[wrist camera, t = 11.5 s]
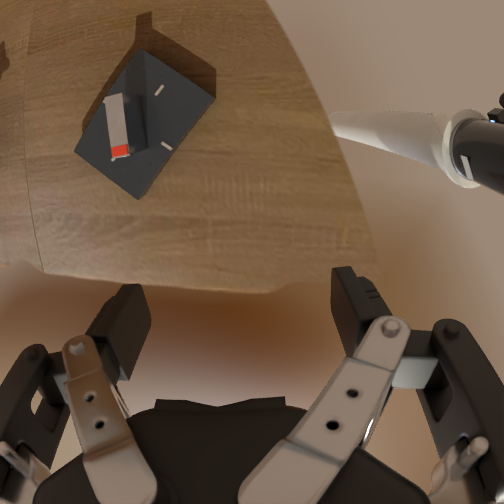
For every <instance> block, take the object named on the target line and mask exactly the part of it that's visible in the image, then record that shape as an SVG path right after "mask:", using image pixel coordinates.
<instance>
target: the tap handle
mask: <svg viewBox="0 0 504 504" xmlns="http://www.w3.org/2000/svg"><path fill="white" fill-rule="evenodd" d="M105 107H106V116H107V124H108V131H109V138H110V145H111V152H112V158H113V159H115V158H120V157H125V156H130V155H132V154H135V153H138V152H141V151H143V150H146V149H147V142H146V135H145V127H144V119H143V111H142V102H141V95H136V94H129V93H118V94H114V95H111V96H107V97H105Z"/></svg>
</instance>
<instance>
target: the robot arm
mask: <svg viewBox="0 0 504 504" xmlns="http://www.w3.org/2000/svg"><path fill="white" fill-rule="evenodd" d="M499 103H500V105H501V106H502V107H503V108H504V93H503V94H502V95H501V96H500V100H499ZM487 115H488V117H489V119H481V120H479V119H476V118H465V119H463V120H461V121H460V122H459V123H458V124H457V125H456V126H455V128H454V129H453V132H452V134H451V138H450V144H449V152H450V158H451V162H452V165H453V167H454V169H455V170H456V172H457V173H458V174H459V175H460V176H461V177H463V178H464V179H467V180H469V181H473V182H475V183H478V184H480V185H482V186H484V187H486V188H488V189H491V190H493V191H495V192H497V193H499V194H501V195H504V109H498V108H495V109H493V110H491V111H490V112H488V114H487ZM331 311H332V315H333V318H334V321H335V324H336V326H337V329H338V332H339V335H340V338H341V341H342V344H343V347H344V350H345V353H346V357H345V358H344V359H343V361H342V363H341V364H340V365H339V367H338V368H337V370H336V371H335V373H334V374H333V376H332V377H331V379H330V380H329V382H328V383H327V385H326V386H325V387H324V389H323V390H322V392H321V393H320V395H319V396H318V397H317V399H316V400H315V401H314V403H313V404H312V406H311V407H310V408H309V410H308V411H307V410H305V409H302V408H297V407H293V406H286V404H285V396H283V397H272V398H257V399H249V400H245V401H241V402H237V403H233V404H228V405H224V406H219V407H216V406H210V405H206V404H201V403H196V402H191V401H188V400H163V399H156V403H155V407H154V408H153V409H148V410H145V411H142V412H139V413H137V414H135V415H133V416H132V415H131V413H130V411H129V409H128V407H127V405H126V403H125V401H124V399H123V397H122V395H121V393H120V390H119V389H118V387H117V385H116V384H117V381H118V380H124V381H129V379H130V377H131V374H132V372H133V369H134V367H135V364H136V361H137V359H138V356H139V354H140V351H141V349H142V347H143V344H144V342H145V339H146V337H147V334H148V332H149V329H150V327H151V314H150V311H149V308H148V305H147V302H146V298H145V295H144V292H143V289H142V286H141V285H140V284H124V285H122V286H121V288H120V290H119V291H118V292H117V294H116V295H115V296H113V297H112V298H110V299H109V300H108V301H107V302H106V303H105V304H104V305H103V307H102V308H101V310H100V312H99V313H98V314H97V317H96V318H95V319H94V321H93V322H92V324H91V325H90V327H89V328H88V330H87V332H86V333H85V335H80V336H76V337H74V338H72V339H70V340H69V341H67V342H66V343H65V345H64V346H63V348H62V351H60V352H56V353H50V354H49V353H48V352H47V350H46V348H45V347H44V345H42V344H34V345H31V346H29V347H27V348H26V349H24V350H23V351H22V353H21V354H20V355H19V357H18V358H17V360H16V361H15V363H14V365H13V366H12V368H11V369H10V371H9V372H8V374H7V376H6V377H5V379H4V381H3V382H2V384H1V386H0V504H504V385H503V383H502V382H501V380H500V378H499V377H498V375H497V373H496V372H495V370H494V368H493V367H492V365H491V363H490V362H489V360H488V359H487V357H486V355H485V354H484V352H483V351H482V350H481V348H480V346H479V345H478V343H477V342H476V340H475V339H474V338H473V336H472V334H471V333H470V332H469V330H468V329H467V327H466V326H465V325H464V324H463V323H461V322H459V321H457V320H453V319H442V320H439V321H438V322H436V323H435V324H434V327H433V330H432V331H421V330H412V329H411V328H410V326H409V324H408V323H407V322H406V321H405V320H403V319H401V318H399V317H396V316H393V315H392V313H391V312H390V310H389V309H388V307H387V305H386V303H385V302H384V300H383V299H382V297H381V296H380V294H379V292H378V291H377V289H376V288H375V286H374V284H373V283H372V282H371V281H370V280H368V279H367V278H365V277H364V276H363V277H357V276H356V274H355V273H354V271H353V269H352V268H351V266H345V267H336V268H332V273H331ZM394 388H404V389H416V392H417V395H418V397H419V400H420V402H421V405H422V408H423V411H424V413H425V416H426V419H427V422H428V424H429V427H430V430H431V433H432V436H433V439H434V442H435V445H436V448H437V451H438V455H439V457H440V461H439V462H438V463H437V464H436V466H435V467H434V468H433V471H432V474H431V491H430V493H429V495H428V496H427V495H426V493H425V492H424V491H423V490H422V489H421V488H420V487H418V486H417V485H416V484H414V483H413V482H411V481H409V480H408V479H406V478H405V477H403V476H402V475H400V474H399V473H397V472H396V471H394V470H393V469H391V468H390V467H388V466H387V465H385V464H384V463H383V462H381V461H380V460H378V459H377V458H375V457H374V456H372V455H371V454H369V453H368V452H367V451H365V448H366V446H367V444H368V443H369V441H370V439H371V436H372V434H373V432H374V430H375V428H376V425H377V423H378V422H379V419H380V417H381V415H382V413H383V411H384V409H385V407H386V405H387V403H388V401H389V398H390V396H391V394H392V392H393V389H394ZM36 390H38V391H39V393H40V394H41V395H42V397H43V398H42V400H41V403H40V405H39V407H38V409H37V411H36V413H35V415H34V414H33V412H32V410H31V400H32V398H33V396H34V394H35V392H36ZM70 413H71V416H72V419H73V423H74V426H75V429H76V433H77V436H78V439H79V442H80V445H81V448H82V451H83V452H82V453H81V454H80V455H78V456H77V457H76V458H74V459H73V460H72V461H70V462H69V463H67V464H66V465H65V466H63V467H62V468H60V469H59V470H57V471H56V472H55V473H53V474H52V475H51V473H50V469H51V465H52V463H53V460H54V457H55V454H56V451H57V448H58V445H59V442H60V440H61V437H62V434H63V431H64V429H65V425H66V423H67V421H68V418H69V416H70Z"/></svg>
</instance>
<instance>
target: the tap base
mask: <svg viewBox="0 0 504 504" xmlns="http://www.w3.org/2000/svg"><path fill="white" fill-rule="evenodd" d="M118 93H129V94H136V95H141V102H142V111H143V119H144V127H145V135H146V142H147V149H146V150H143V151H141V152H138V153H135V154H132V155H130V156H125V157H120V158H115V159H113V158H112V152H111V145H110V138H109V131H108V124H107V116H106V107H105V98H104V99H103V101H102V103H101V104H100V106H99V108H98V109H97V111H96V112H95V114H94V116H93V117H92V119H91V121H90V123H89V124H88V126H87V128H86V130H85V131H84V133H83V135H82V137H81V139H80V141H79V142H78V144H77V146H76V148H75V150H74V152H75V153H77V154H78V155H79V156H80V157H82V158H83V159H84V160H86V161H87V162H88V163H89V164H91V165H92V166H93V167H95V168H96V169H97V170H99V171H100V172H101V173H103V174H104V175H105V176H106V177H108V178H109V179H110V180H112V181H113V182H114V183H116V184H117V185H118V186H120V187H121V188H122V189H124V190H125V191H126V192H128V193H129V194H130V195H132V196H133V197H134V198H136V199H137V200H139V199H140V198H142V197H143V196H144V195H145V194H146V192H147V191H148V189H149V188H150V186H151V185H152V183H153V182H154V180H155V179H156V178H157V176H158V175H159V173H160V172H161V170H162V169H163V167H164V166H165V165H166V163H167V162H168V160H169V159H170V158H171V156H172V155H173V153H174V152H175V151H176V149H177V148H178V147H179V145H180V144H181V142H182V141H183V140H184V138H185V137H186V136H187V134H188V133H189V132H190V131H191V129H192V128H193V127H194V125H195V124H196V123H197V121H198V120H199V119H200V118H201V116H202V115H203V114H204V113H205V111H206V110H207V109H208V108H209V106H210V105H211V104H212V103H213V102H214V100H215V99H216V98H215V97H214V96H212V95H211V94H210V93H208V92H207V91H205V90H204V89H203V88H201V87H200V86H198V85H197V84H195V83H194V82H193V81H191V80H190V79H188V78H187V77H185V76H184V75H182V74H181V73H179V72H178V71H176V70H175V69H173V68H172V67H170V66H169V65H167V64H166V63H164V62H163V61H161V60H160V59H158V58H156V57H155V56H153V55H152V54H150V53H148V52H147V51H145V50H143V49H141V48H139V49H138V51H137V52H136V53H135V55H134V56H133V57H132V59H131V60H130V61H129V63H128V64H127V65H126V67H125V68H124V70H123V71H122V72H121V74H120V75H119V77H118V78H117V80H116V81H115V83H114V84H113V86H112V87H111V89H110V90H109V92H108V93H107V95H106V96H105V97H107V96H111V95H114V94H118Z"/></svg>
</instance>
